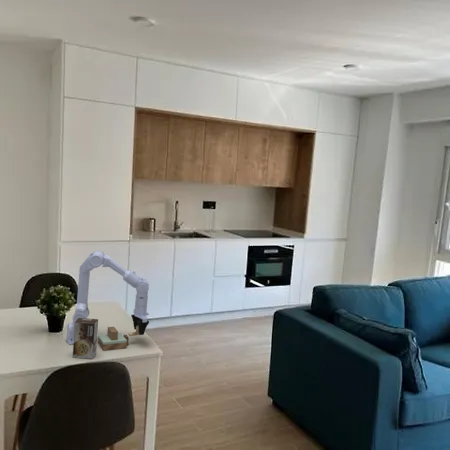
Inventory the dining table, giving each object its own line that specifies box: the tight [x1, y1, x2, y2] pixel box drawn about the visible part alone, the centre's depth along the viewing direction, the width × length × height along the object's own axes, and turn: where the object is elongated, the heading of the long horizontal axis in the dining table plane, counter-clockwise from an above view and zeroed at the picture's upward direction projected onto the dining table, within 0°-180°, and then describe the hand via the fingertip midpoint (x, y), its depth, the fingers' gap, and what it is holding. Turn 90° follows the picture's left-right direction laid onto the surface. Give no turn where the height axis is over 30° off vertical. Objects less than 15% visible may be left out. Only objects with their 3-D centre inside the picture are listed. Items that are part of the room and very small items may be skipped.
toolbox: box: [97, 334, 130, 351], centre depth 213 cm, size 13×10×4 cm
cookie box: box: [72, 317, 99, 360], centre depth 198 cm, size 9×6×16 cm
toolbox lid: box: [97, 326, 127, 345], centre depth 213 cm, size 11×10×5 cm
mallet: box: [127, 326, 140, 337], centre depth 218 cm, size 6×3×4 cm, turn 119°
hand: (138, 331), depth 219 cm, fingers open, 7 cm apart
